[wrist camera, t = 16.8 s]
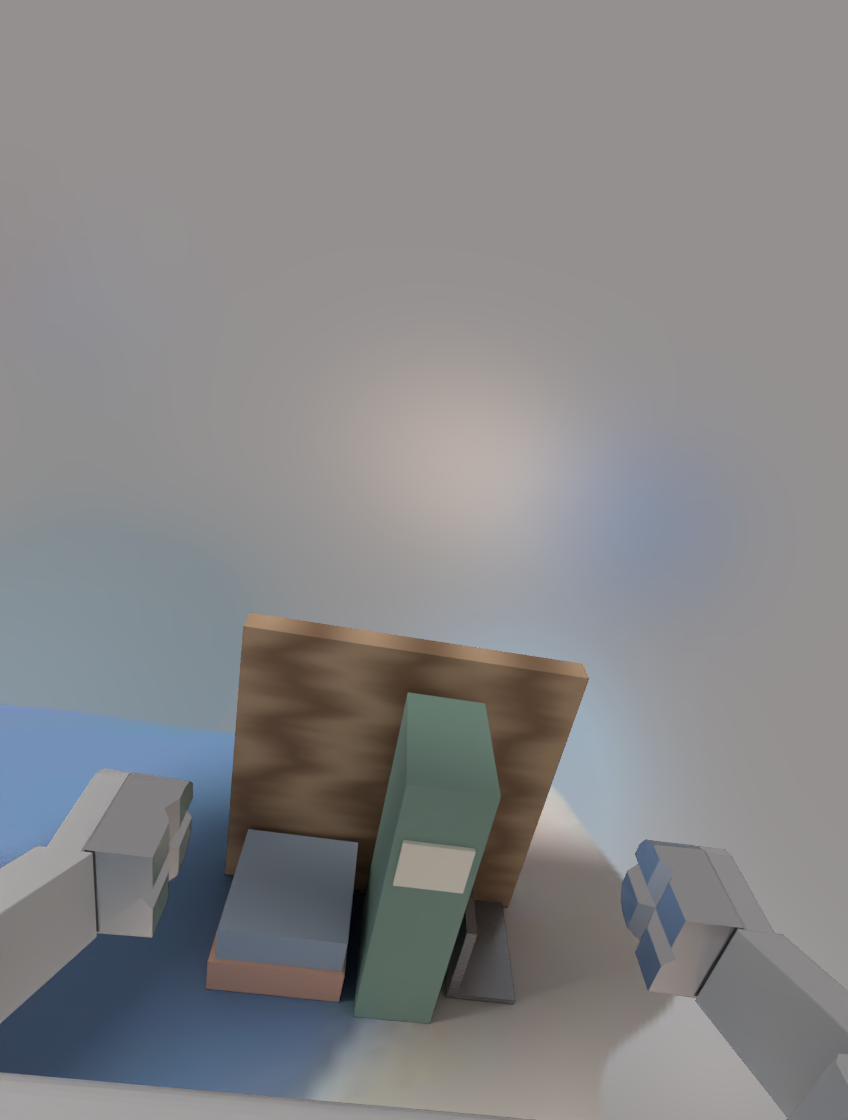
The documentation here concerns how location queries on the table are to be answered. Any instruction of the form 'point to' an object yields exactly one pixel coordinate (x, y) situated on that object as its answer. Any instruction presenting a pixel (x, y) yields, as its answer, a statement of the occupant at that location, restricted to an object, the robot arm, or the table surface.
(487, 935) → the bookend
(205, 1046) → the table surface
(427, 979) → the green book
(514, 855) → the shelf wall
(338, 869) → the book stack
